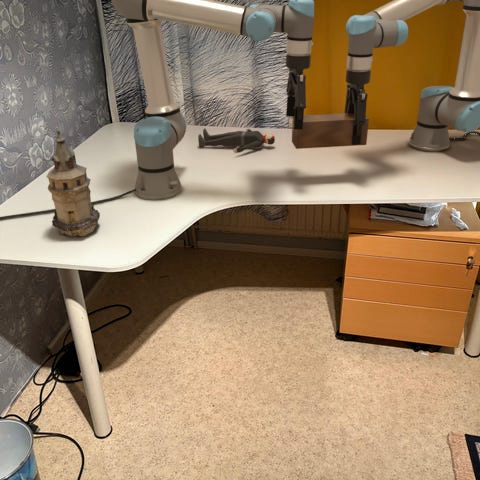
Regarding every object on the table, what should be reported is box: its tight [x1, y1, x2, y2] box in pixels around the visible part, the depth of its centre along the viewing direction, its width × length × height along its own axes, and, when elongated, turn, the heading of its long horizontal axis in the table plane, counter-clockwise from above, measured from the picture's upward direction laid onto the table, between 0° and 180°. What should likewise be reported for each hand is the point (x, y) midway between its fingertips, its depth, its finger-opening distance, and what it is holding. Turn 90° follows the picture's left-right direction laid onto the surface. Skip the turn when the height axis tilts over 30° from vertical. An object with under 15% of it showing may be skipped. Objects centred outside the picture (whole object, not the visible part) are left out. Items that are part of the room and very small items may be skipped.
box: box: [291, 112, 370, 150], centre depth 176 cm, size 24×7×9 cm, turn 97°
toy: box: [197, 128, 276, 154], centre depth 214 cm, size 26×6×30 cm
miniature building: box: [46, 129, 101, 237], centre depth 148 cm, size 13×14×30 cm
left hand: (294, 122), depth 173 cm, fingers open, 13 cm apart
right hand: (352, 140), depth 178 cm, fingers closed on box, 7 cm apart
